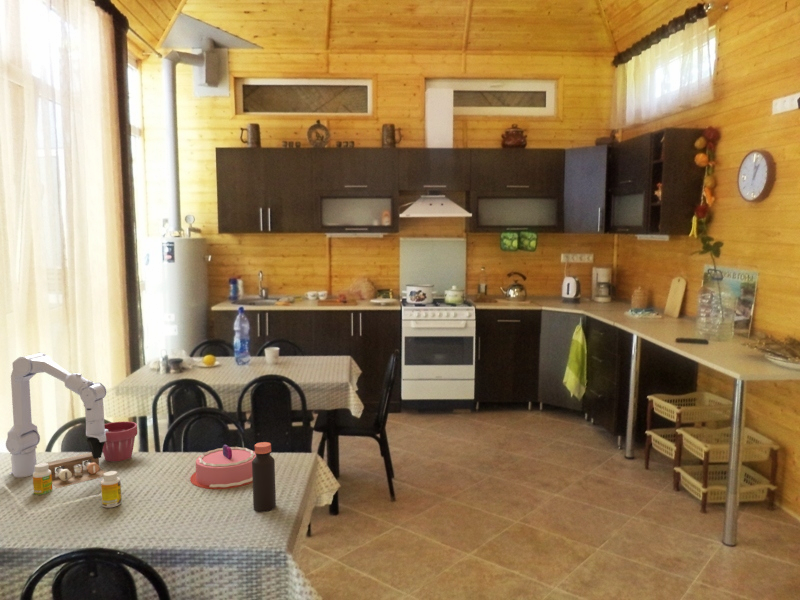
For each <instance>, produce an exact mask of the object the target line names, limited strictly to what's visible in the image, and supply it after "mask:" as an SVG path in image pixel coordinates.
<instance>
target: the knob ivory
mask: <svg viewBox="0 0 800 600" xmlns="http://www.w3.org/2000/svg"><path fill="white" fill-rule="evenodd" d="M55 472H56V473H57V472H58V473H59V478H60V479H61V480H63V481H67V480H69V479H70V478H71V476H72V473H71V472H70V471H69V470H68V469H62V468H61V466H60V467H56V468H55Z"/></svg>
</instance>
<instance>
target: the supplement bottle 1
mask: <svg viewBox="0 0 800 600" xmlns="http://www.w3.org/2000/svg"><path fill="white" fill-rule="evenodd" d="M48 468H49V465H48V463H47V462H41V463H37V465H35V472H34V473H33V475H32V486H33V487H32V488H33V494H34V495H46V494H49V493H51V492H52V491H53V484H52V473H51V470H49V469H48Z"/></svg>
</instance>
